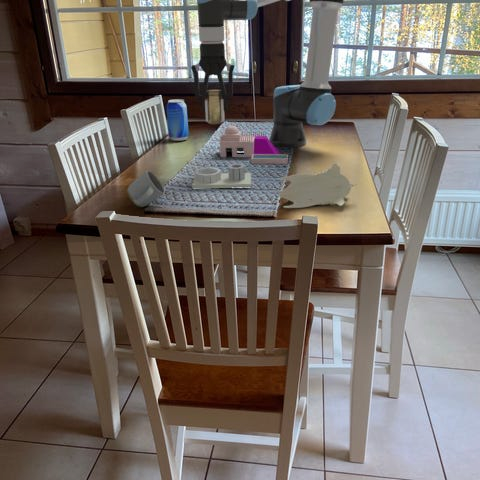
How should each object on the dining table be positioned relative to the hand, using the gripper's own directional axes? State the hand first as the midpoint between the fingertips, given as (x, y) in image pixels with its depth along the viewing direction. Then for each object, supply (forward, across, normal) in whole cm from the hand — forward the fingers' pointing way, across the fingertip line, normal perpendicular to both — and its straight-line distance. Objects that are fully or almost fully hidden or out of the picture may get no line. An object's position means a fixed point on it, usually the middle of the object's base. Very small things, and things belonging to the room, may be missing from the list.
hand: (215, 120), depth 150 cm
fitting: (+1, 0, 0) cm, 1 cm away
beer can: (+17, +20, -46) cm, 53 cm away
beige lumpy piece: (+19, -31, +32) cm, 48 cm away
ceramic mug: (+17, +17, +33) cm, 41 cm away
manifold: (+17, -3, +13) cm, 21 cm away
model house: (+17, -12, -17) cm, 27 cm away
